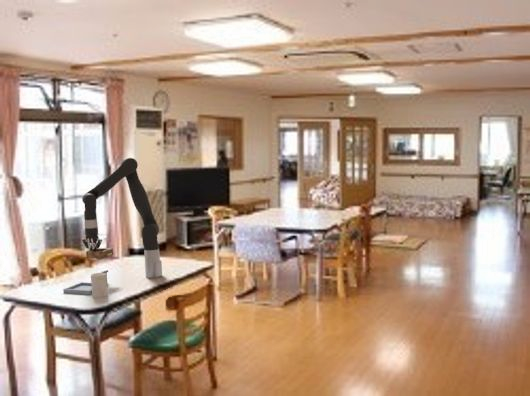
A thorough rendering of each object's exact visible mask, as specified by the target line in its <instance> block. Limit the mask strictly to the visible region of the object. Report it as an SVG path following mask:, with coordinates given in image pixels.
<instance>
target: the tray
mask: <svg viewBox="0 0 530 396" xmlns="http://www.w3.org/2000/svg"><path fill="white" fill-rule="evenodd" d="M108 288H109V286H108V283H107V289H108ZM63 294H75V295H88V296H92V285H91V282H84V281H81V282H79V283H75V284H74V285H73V284H72V285H71V286H68V287H65V288H63Z"/></svg>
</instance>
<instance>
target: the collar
mask: <svg viewBox="0 0 530 396" xmlns="http://www.w3.org/2000/svg"><path fill="white" fill-rule="evenodd" d="M85 254H86V255H85V256H86V259H96V260H98V259H99V260H100V259H101V260H102V259H105V258H112V257H113V256H114V249H113V248H108V247H107V248H106V247H99V248H97V251H93V250H86V251H85Z"/></svg>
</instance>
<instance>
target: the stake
mask: <svg viewBox="0 0 530 396" xmlns="http://www.w3.org/2000/svg"><path fill="white" fill-rule="evenodd" d="M100 273H106V280H107V281H108V274H107V273H109V270H108V269H106V270H103V271H100Z"/></svg>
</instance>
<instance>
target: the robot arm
mask: <svg viewBox="0 0 530 396" xmlns="http://www.w3.org/2000/svg"><path fill="white" fill-rule="evenodd" d="M138 165H139V164H138V161H137V160H136V159H135V158H133V157H127V158H125V159H123V160H122V162H121V163H120V165H119V167H118V168H117V169H116V170H114V172H112V173H111V174H109V175H108V176H107V177H105V178H104V179H103V180H102V181H100V182H99V183H98V184H97V185H95V186H94V187H93V188H92V189H90V190H88V191H87V192H86V193H85V194H84V195H83V196H82V198H81V199H82V203H83V204H84V212H83V214H84V215H83V216H84V218H83V219H84V235H85V237H84V238H83V239H82V243H83V245H84V247H85V248H86V249H89V250H93V251H97V248H101V244H102V242H103V239H101V238H99V225H98V224H99V223H98V218H97V216H98V215H97V200H98V199H99V198H100V197H103V196H105V195H106V194H107V193H108V192H110V190H112V189H113V188H114V187H115V185H117V184H118V183H119V182H120V181H121V180H123V179H124V178H125V179H126V182H127V185H128V189H129V193H130V196H131V200H132V202H133V206H134V207H135V209H136V211H137V213H138V214H139V215H140V217H141V221H142V222H143V227H142V229H141V238H142V245H143V251H144V269H145V277H146V278H148V279H155V278H156V279H157V278H159V277H161V276H163V268H162V267H163V266H162V265H163V264H162V260H161V257H160V254H161V253H160V244H159V241H158V235H159V232H160V228H159V227H160V226H159V225H158V223H157V221H156V219H155V216H154V213H153V211H152V207H151V204H150V201H149V197H148V195H147V191H146V189H145V187H144V186H143V184H142V182H141V180H140V178H139V174H138V171H137V169H138ZM89 250H88V251H89Z"/></svg>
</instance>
